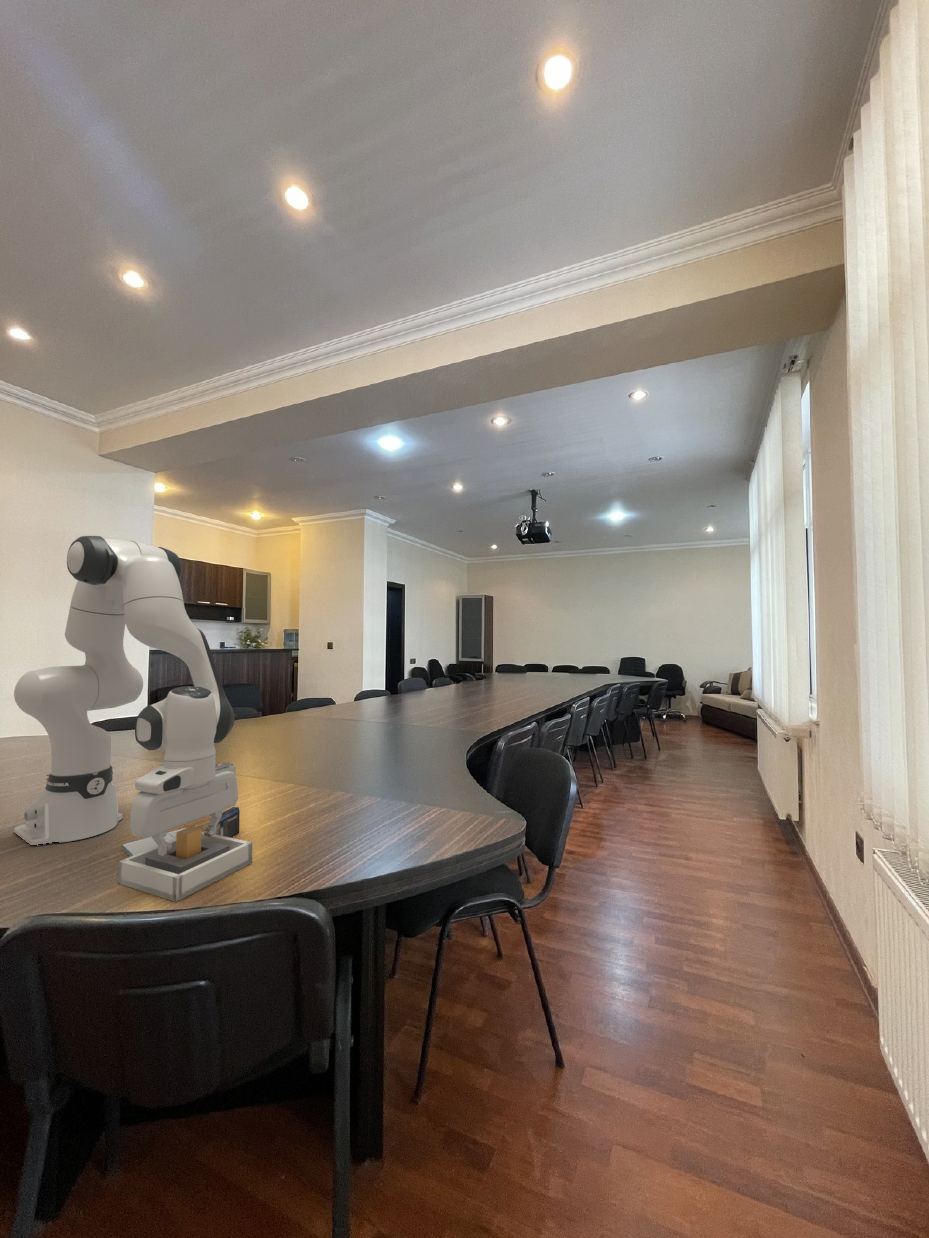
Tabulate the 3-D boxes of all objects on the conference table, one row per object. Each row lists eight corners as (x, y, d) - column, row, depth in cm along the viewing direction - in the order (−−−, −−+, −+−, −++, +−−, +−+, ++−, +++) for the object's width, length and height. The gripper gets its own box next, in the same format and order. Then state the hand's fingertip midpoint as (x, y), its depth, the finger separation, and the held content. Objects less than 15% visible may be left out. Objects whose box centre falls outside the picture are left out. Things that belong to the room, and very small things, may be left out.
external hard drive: (121, 851, 104) (184, 833, 114) (133, 862, 99) (198, 843, 108) (121, 843, 104) (184, 826, 114) (133, 854, 99) (198, 835, 108)
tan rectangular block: (175, 869, 92) (176, 831, 93) (190, 862, 95) (190, 826, 95) (186, 872, 91) (187, 834, 91) (200, 865, 94) (201, 828, 94)
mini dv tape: (215, 847, 105) (215, 819, 105) (209, 847, 105) (209, 819, 105) (239, 833, 113) (239, 806, 113) (233, 832, 113) (233, 806, 113)
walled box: (118, 883, 89) (118, 861, 89) (197, 849, 104) (197, 830, 104) (176, 901, 83) (176, 877, 83) (252, 862, 97) (252, 842, 97)
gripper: (224, 758, 105) (223, 823, 104) (125, 783, 86) (123, 862, 85) (245, 760, 102) (244, 827, 102) (148, 787, 84) (146, 869, 83)
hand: (188, 844), depth 93 cm, fingers open, 8 cm apart
